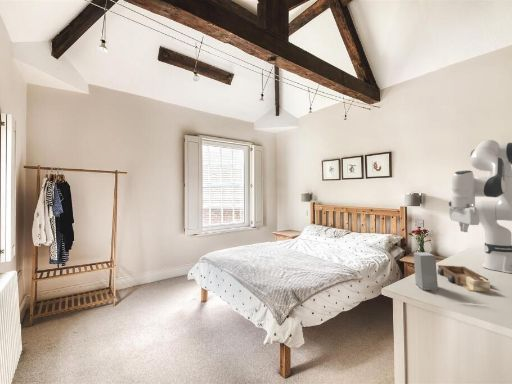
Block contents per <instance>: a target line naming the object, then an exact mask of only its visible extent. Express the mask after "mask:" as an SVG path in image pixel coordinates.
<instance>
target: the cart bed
mask: <svg viewBox="0 0 512 384" xmlns="http://www.w3.org/2000/svg"><path fill="white" fill-rule="evenodd" d="M437 266H438V267H437V275H440V276H444V278H446V279H447V281H448V282H449V283H451V284H455V285H456V286H461V287H462V285H466V276H467V277H482V278H484V279H485V280H487V281H489V279H488V278H487V277H485V276H483V275H481V274H479V273H477V272H476V271H473V270H472V269H469V268H467V267H466V266H462V265H460V266H459V265H444V264H438V265H437Z"/></svg>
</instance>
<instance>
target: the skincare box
mask: <svg viewBox="0 0 512 384" xmlns="http://www.w3.org/2000/svg"><path fill="white" fill-rule="evenodd" d="M436 258H437V257H436V255H435V254H432V253H430V252H427V251H426V252H424V251H423V252H418V251H417V252H416V251H415V252H413V262H414V263H413V265H414V275H415V276H414V277H415V285H416V286H418V288H420V289H421V290H423V291H433V290H434V291H438V290H439V288H438V287H439V285H438V283H439V282H438V270H437V261H436Z"/></svg>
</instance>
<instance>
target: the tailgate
mask: <svg viewBox="0 0 512 384" xmlns="http://www.w3.org/2000/svg"><path fill="white" fill-rule="evenodd" d="M461 287H463V288H464V289H465V290H467V291H469V292H477V293H490V294H491V293H492V294H494V293H495V291H494V290H492V289H490V292H488V291H475V290H472V289H471V288H469V287H468V286H466V285H462V286H461Z"/></svg>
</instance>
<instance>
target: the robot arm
mask: <svg viewBox="0 0 512 384" xmlns="http://www.w3.org/2000/svg"><path fill="white" fill-rule="evenodd" d="M469 163H470V164H471V165H472V167H473V168H475V169H476V170H479V171H485V172H487V173H486V176H481V177H480V176H479V177H478V176H477V177H476V176H475V175H474V172H473V171H472V170H458V171H456V172H454V173H453V175H452V178H451V179H452V180H451V191H452V196H451V200H449V202H448V203H447V205H448V207H449V208H448V209H449V210H448V211H449V212H448V213H449V219H450V220H451V221H453V222H458V225H459V229H460V232H463V233H468V231H469V230H468V229H469V226H470V225H471V226H479V224H481V225H482V227H483V229H484V230H483V231H484V236H485V237H484V238H485V242H484V258H483V263H482V265H481V267H482V268H484V269H488V270H491V271H498V272H502V273H507V274H512V232H511V230H510V229H509V228H508V227H504V225H500V224H499V223H498V221H509V222H512V142H507V143H505V142H504V143H498V141H496V140H493V139H486V140H485V139H484V140H483V141H481V142H479V144H478V145H477V146H476V147H475V148H474V149H473V150H471V152H470V160H469ZM476 197H479V198H480V197H482V198H483V197H485V198H499V200H480V201H476Z"/></svg>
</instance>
